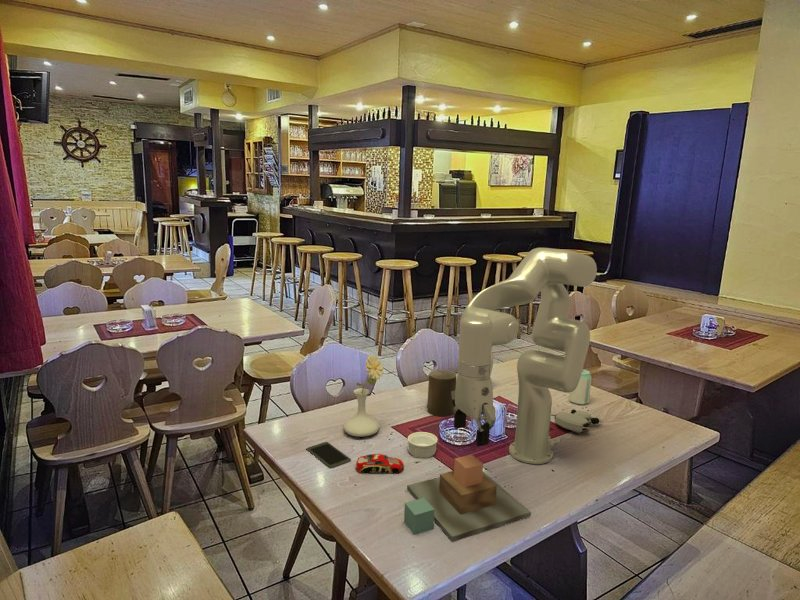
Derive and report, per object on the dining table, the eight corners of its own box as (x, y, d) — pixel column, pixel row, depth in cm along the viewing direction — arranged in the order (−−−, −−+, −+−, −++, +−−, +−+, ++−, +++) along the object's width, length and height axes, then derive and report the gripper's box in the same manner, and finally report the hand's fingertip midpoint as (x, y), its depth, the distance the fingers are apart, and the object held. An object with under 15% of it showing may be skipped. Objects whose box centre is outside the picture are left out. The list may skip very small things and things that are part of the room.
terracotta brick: (470, 472, 129) (471, 454, 128) (482, 482, 125) (483, 464, 124) (453, 476, 127) (454, 458, 126) (464, 487, 123) (465, 468, 122)
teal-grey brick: (423, 516, 121) (423, 497, 120) (433, 529, 117) (434, 509, 116) (404, 522, 119) (404, 502, 118) (414, 534, 115) (414, 515, 114)
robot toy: (570, 416, 181) (547, 425, 171) (572, 404, 180) (549, 412, 170) (604, 429, 172) (581, 439, 162) (605, 416, 171) (583, 425, 161)
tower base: (478, 471, 142) (479, 450, 140) (530, 516, 122) (532, 493, 121) (407, 489, 132) (407, 467, 131) (451, 541, 113) (453, 516, 111)
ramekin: (418, 462, 146) (419, 448, 145) (401, 449, 153) (401, 435, 152) (443, 454, 151) (443, 441, 150) (425, 442, 158) (425, 429, 157)
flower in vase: (355, 443, 155) (355, 365, 150) (336, 429, 164) (336, 355, 159) (390, 432, 163) (392, 357, 158) (370, 419, 172) (371, 348, 167)
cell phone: (326, 443, 156) (326, 441, 156) (352, 462, 146) (352, 459, 145) (305, 450, 151) (305, 448, 151) (330, 470, 141) (330, 467, 141)
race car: (403, 465, 145) (404, 452, 144) (404, 475, 139) (404, 462, 138) (356, 464, 144) (357, 451, 144) (355, 474, 139) (355, 461, 138)
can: (564, 399, 193) (567, 369, 191) (579, 397, 196) (582, 367, 194) (578, 406, 187) (581, 375, 185) (592, 403, 190) (596, 373, 188)
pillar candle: (447, 419, 174) (449, 377, 171) (422, 412, 179) (423, 371, 176) (459, 409, 182) (461, 369, 179) (435, 403, 187) (437, 364, 184)
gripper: (510, 378, 114) (505, 449, 118) (467, 355, 129) (464, 418, 133) (482, 383, 111) (478, 455, 114) (441, 359, 126) (439, 424, 130)
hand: (470, 435), depth 124 cm, fingers open, 9 cm apart
